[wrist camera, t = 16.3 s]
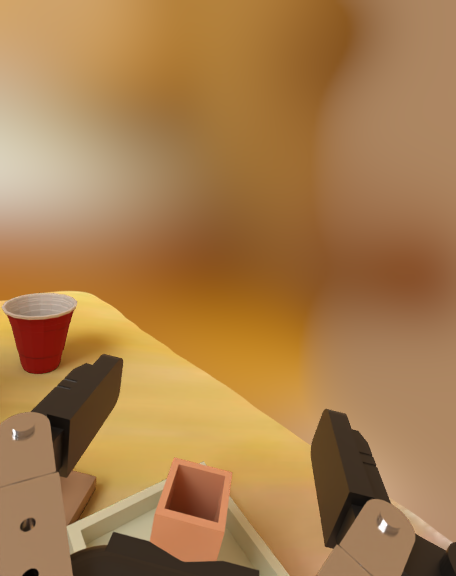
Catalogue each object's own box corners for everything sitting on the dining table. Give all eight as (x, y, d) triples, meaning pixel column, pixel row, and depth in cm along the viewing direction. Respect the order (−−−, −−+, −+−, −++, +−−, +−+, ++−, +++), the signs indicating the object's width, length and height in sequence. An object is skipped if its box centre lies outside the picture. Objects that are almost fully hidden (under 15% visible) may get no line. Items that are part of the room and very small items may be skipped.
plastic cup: (37, 342, 64) (38, 284, 61) (86, 358, 63) (90, 300, 59) (-14, 370, 54) (-17, 303, 50) (43, 390, 52) (44, 322, 49)
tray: (65, 549, 33) (66, 526, 32) (199, 480, 43) (203, 461, 42) (130, 778, 21) (135, 754, 20) (291, 611, 32) (300, 589, 31)
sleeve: (139, 602, 29) (154, 513, 26) (161, 529, 36) (176, 450, 32) (200, 619, 29) (224, 532, 26) (212, 543, 35) (233, 464, 32)
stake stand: (-110, 577, 28) (-123, 510, 26) (-2, 464, 40) (-3, 409, 37) (24, 615, 28) (24, 550, 25) (95, 489, 39) (99, 435, 37)
